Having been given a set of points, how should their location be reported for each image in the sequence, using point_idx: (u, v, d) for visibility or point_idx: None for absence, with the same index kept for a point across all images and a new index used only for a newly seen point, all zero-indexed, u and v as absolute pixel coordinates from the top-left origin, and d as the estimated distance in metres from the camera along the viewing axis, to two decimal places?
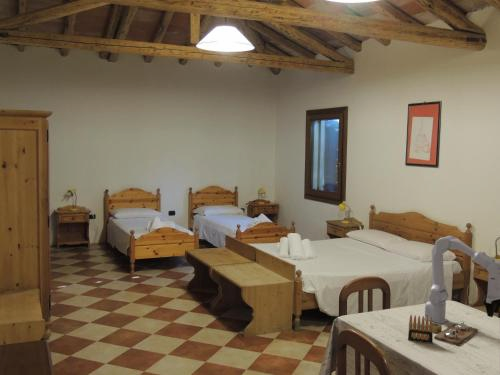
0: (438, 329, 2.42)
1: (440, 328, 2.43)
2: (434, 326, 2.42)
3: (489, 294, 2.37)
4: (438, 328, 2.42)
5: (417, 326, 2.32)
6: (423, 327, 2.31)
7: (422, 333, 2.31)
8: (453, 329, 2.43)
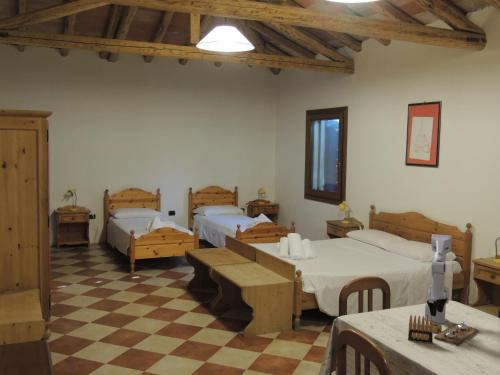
0: (438, 329, 2.42)
1: (440, 328, 2.43)
2: (434, 326, 2.42)
3: (432, 294, 2.42)
4: (438, 328, 2.42)
5: (417, 326, 2.32)
6: (423, 327, 2.31)
7: (422, 333, 2.31)
8: (453, 329, 2.43)
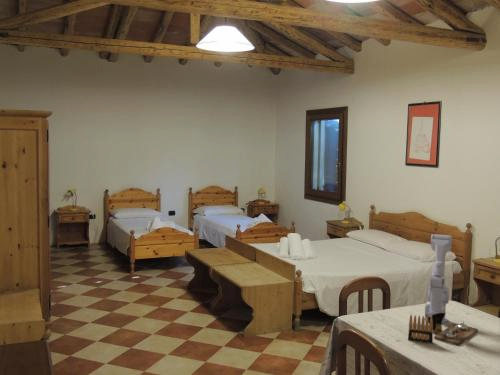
0: (438, 329, 2.42)
1: (440, 328, 2.43)
2: None
3: (431, 308, 2.43)
4: (438, 328, 2.42)
5: (417, 326, 2.32)
6: (423, 327, 2.31)
7: (422, 333, 2.31)
8: (453, 329, 2.43)
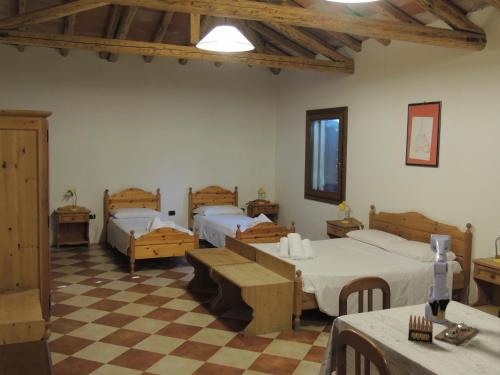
0: (440, 315, 2.41)
1: (443, 314, 2.41)
2: None
3: (434, 294, 2.42)
4: (440, 314, 2.41)
5: (417, 326, 2.32)
6: (423, 327, 2.31)
7: (422, 333, 2.31)
8: (453, 329, 2.43)
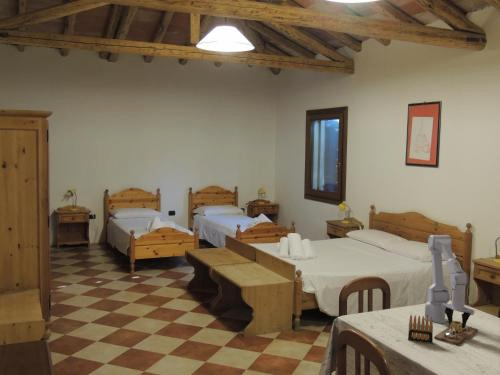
0: (452, 326, 2.39)
1: (454, 326, 2.37)
2: None
3: None
4: (452, 325, 2.38)
5: (417, 326, 2.32)
6: (423, 327, 2.31)
7: (422, 333, 2.31)
8: None
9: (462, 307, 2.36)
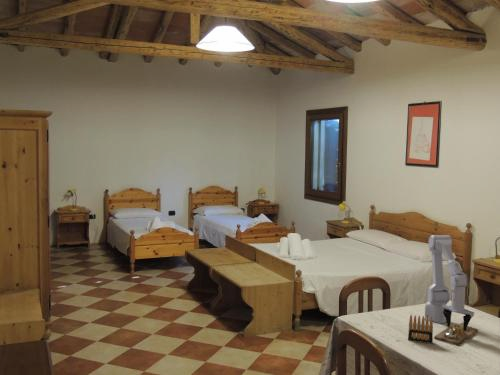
0: (452, 329, 2.39)
1: (454, 329, 2.38)
2: None
3: None
4: (452, 328, 2.39)
5: (417, 326, 2.32)
6: (423, 327, 2.31)
7: (422, 333, 2.31)
8: None
9: (462, 309, 2.36)
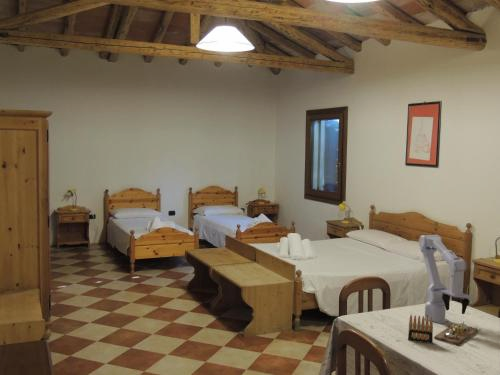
0: (452, 329, 2.39)
1: (454, 329, 2.38)
2: None
3: None
4: (452, 328, 2.39)
5: (417, 326, 2.32)
6: (423, 327, 2.31)
7: (422, 333, 2.31)
8: None
9: (460, 293, 2.41)
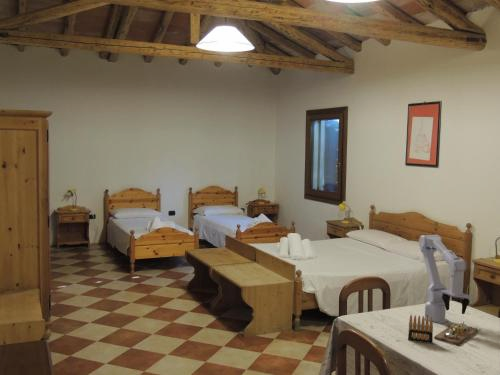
0: (452, 329, 2.39)
1: (454, 329, 2.38)
2: None
3: None
4: (452, 328, 2.39)
5: (417, 326, 2.32)
6: (423, 327, 2.31)
7: (422, 333, 2.31)
8: None
9: (460, 293, 2.41)
